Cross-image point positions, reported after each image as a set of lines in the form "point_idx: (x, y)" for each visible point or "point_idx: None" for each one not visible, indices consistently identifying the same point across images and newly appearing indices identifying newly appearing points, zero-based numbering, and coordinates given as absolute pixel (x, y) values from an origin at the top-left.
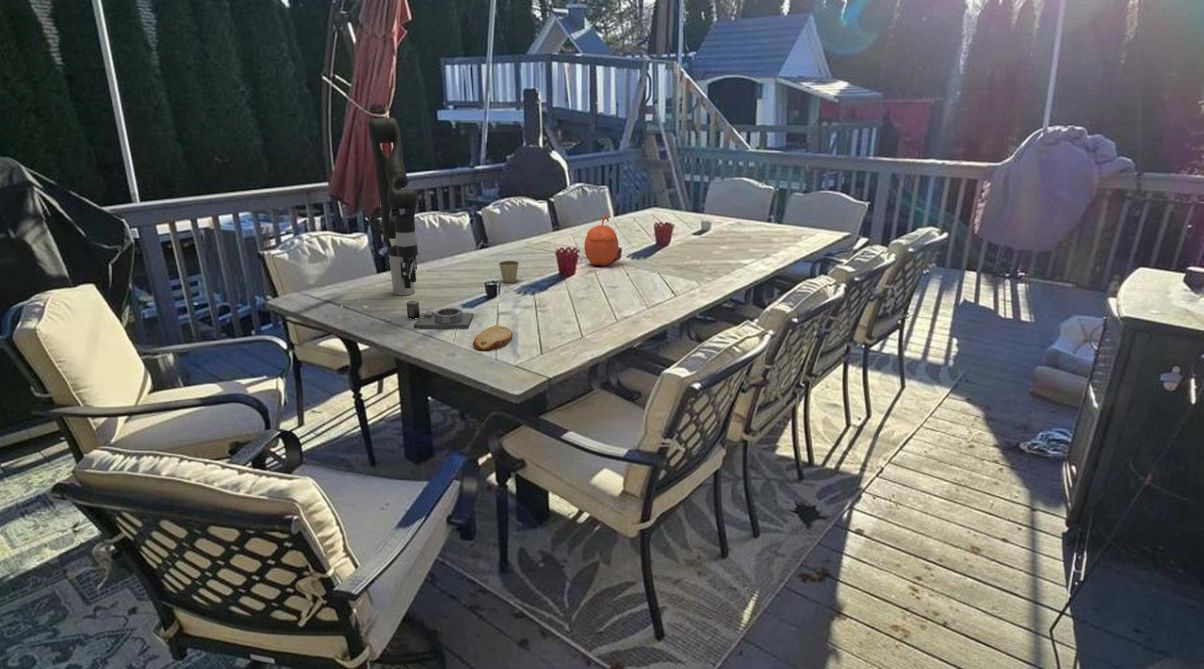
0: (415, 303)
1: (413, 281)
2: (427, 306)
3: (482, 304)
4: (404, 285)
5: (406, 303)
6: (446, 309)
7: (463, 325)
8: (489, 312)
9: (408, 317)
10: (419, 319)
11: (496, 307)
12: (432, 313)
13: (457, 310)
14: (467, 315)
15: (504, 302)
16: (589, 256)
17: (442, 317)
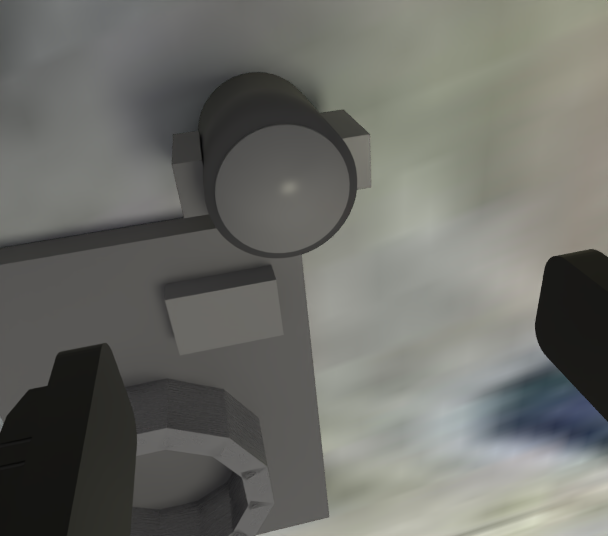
0: (244, 244)
1: (549, 311)
2: (569, 137)
3: (549, 453)
4: (49, 386)
5: (245, 123)
6: (234, 471)
7: None
8: (401, 528)
9: (212, 97)
10: (104, 265)
11: (485, 523)
12: (229, 342)
13: (226, 533)
14: (274, 510)
15: (565, 522)
16: None
17: None
